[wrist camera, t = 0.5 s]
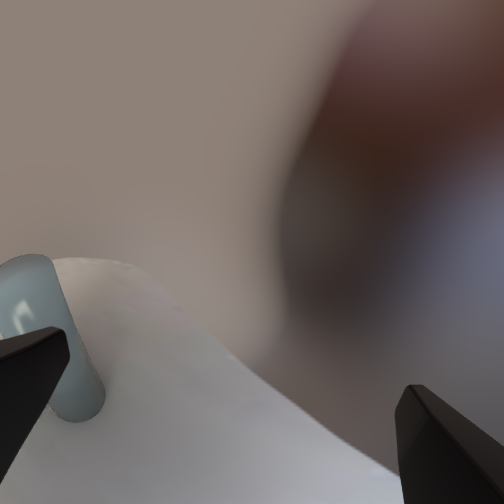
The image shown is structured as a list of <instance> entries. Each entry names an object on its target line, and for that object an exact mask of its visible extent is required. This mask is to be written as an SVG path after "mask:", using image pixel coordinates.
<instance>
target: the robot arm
mask: <svg viewBox="0 0 504 504" xmlns="http://www.w3.org/2000/svg"><path fill="white" fill-rule="evenodd" d="M69 361H70V350H69V346H68V341H67V336H66V333H65V331H64V330H63V329H60V328H57V327H54V326H50V327H46V328H43V329H39V330H35V331H32V332H28V333H25V334H21V335H17V336H14V337H10V338H7V339H3V340H0V484H1V482H2V480H3V479H4V477H5V475H6V473H7V471H8V469H9V468H10V466H11V464H12V462H13V460H14V459H15V457H16V455H17V453H18V452H19V450H20V448H21V446H22V445H23V443H24V441H25V440H26V438H27V436H28V435H29V433H30V431H31V430H32V428H33V426H34V425H35V423H36V421H37V420H38V418H39V417H40V415H41V413H42V412H43V410H44V409H45V407H46V405H47V404H48V402H49V400H50V398H51V396H52V394H53V392H54V390H55V388H56V386H57V384H58V383H59V381H60V379H61V377H62V375H63V373H64V371H65V369H66V367H67V365H68V363H69ZM395 427H396V440H397V456H398V465H399V473H400V479H401V485H402V492H403V499H404V504H504V446H502V445H501V444H500V443H499V442H497V441H496V440H494V439H493V438H492V437H491V436H489V435H488V434H486V433H485V432H484V431H483V430H481V429H480V428H479V427H477V426H476V425H475V424H474V423H472V422H471V421H470V420H468V419H467V418H466V417H464V416H463V415H461V414H460V413H459V412H457V411H456V410H455V409H454V408H452V407H451V406H450V405H448V404H447V403H446V402H445V401H443V400H442V399H441V398H439V397H438V396H437V395H435V394H434V393H433V392H431V391H430V390H429V389H428V388H426V387H425V386H423V385H408V386H407V387H406V388H405V390H404V392H403V394H402V396H401V398H400V400H399V403H398V405H397V407H396V409H395Z"/></svg>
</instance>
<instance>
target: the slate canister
mask: <svg viewBox="0 0 504 504" xmlns="http://www.w3.org/2000/svg"><path fill="white" fill-rule="evenodd" d="M50 326H54V327H57V328H60V329H63V330H64V331H65V333H66V336H67V341H68V346H69V350H70V361H69V363H68V365H67V367H66V369H65V371H64V373H63V375H62V377H61V379H60V381H59V383H58V384H57V386H56V388H55V390H54V392H53V394H52V396H51V398H50V400H49V402H48V404H49V405H50V407H51V408H52V409H53V411H54V412H55V413H56V414H57V415H58V416H59V417H60V418H62V419H63V420H65V421H68V422H75V423H77V422H84V421H87V420H89V419H91V418H92V417H94V416H95V415H96V414H97V413H98V412H99V411H100V409H101V408H102V406H103V403H104V400H105V391H104V387H103V385H102V383H101V381H100V379H99V377H98V375H97V373H96V371H95V369H94V367H93V365H92V362H91V360H90V358H89V356H88V354H87V352H86V349H85V347H84V345H83V343H82V340H81V338H80V336H79V333H78V331H77V328H76V326H75V323H74V321H73V318H72V316H71V313H70V311H69V308H68V305H67V303H66V300H65V297H64V294H63V292H62V289H61V286H60V283H59V280H58V277H57V274H56V271H55V268H54V265H53V262H52V261H51V260H50V259H49V258H48V257H46V256H44V255H40V254H26V255H21V256H18V257H15V258H12V259H10V260H8V261H6V262H5V263H3V264H1V265H0V332H1V334H2V336H3V337H4V339H7V338H10V337H14V336H17V335H21V334H25V333H28V332H32V331H35V330H39V329H43V328H46V327H50Z"/></svg>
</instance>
